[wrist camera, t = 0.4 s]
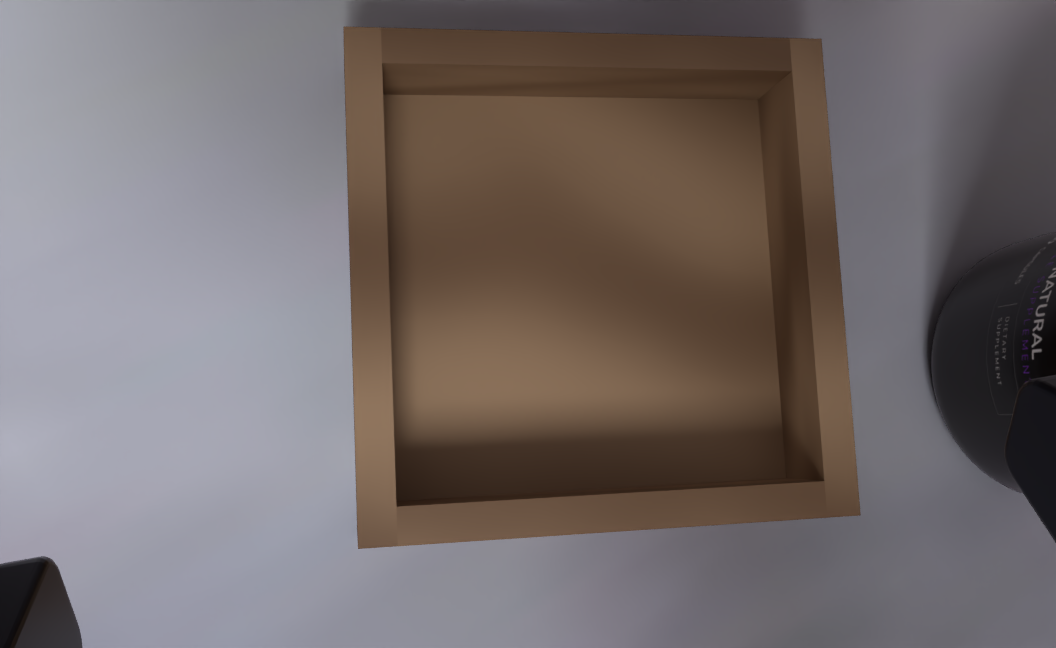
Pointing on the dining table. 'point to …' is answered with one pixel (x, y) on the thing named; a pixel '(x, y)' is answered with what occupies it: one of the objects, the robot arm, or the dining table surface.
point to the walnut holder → (592, 284)
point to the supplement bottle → (995, 347)
